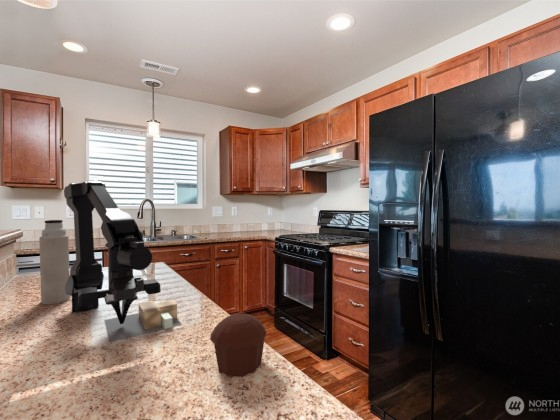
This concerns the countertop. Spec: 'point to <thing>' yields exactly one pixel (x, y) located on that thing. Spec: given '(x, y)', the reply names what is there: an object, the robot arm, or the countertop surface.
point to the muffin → (238, 344)
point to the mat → (130, 327)
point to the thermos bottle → (54, 262)
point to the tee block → (156, 312)
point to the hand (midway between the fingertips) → (121, 323)
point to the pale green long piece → (166, 319)
